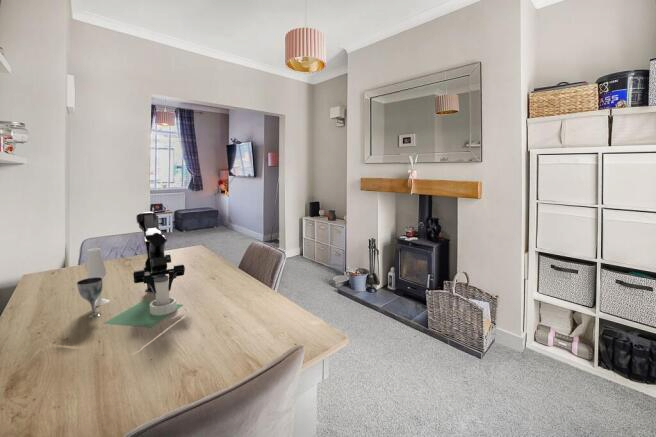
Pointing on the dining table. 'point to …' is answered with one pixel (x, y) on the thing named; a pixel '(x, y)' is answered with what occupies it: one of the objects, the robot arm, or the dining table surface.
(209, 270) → the dining table surface
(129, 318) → the putting green
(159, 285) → the golf ball tube
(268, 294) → the dining table surface
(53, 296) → the dining table surface
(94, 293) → the wine glass
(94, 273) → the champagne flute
